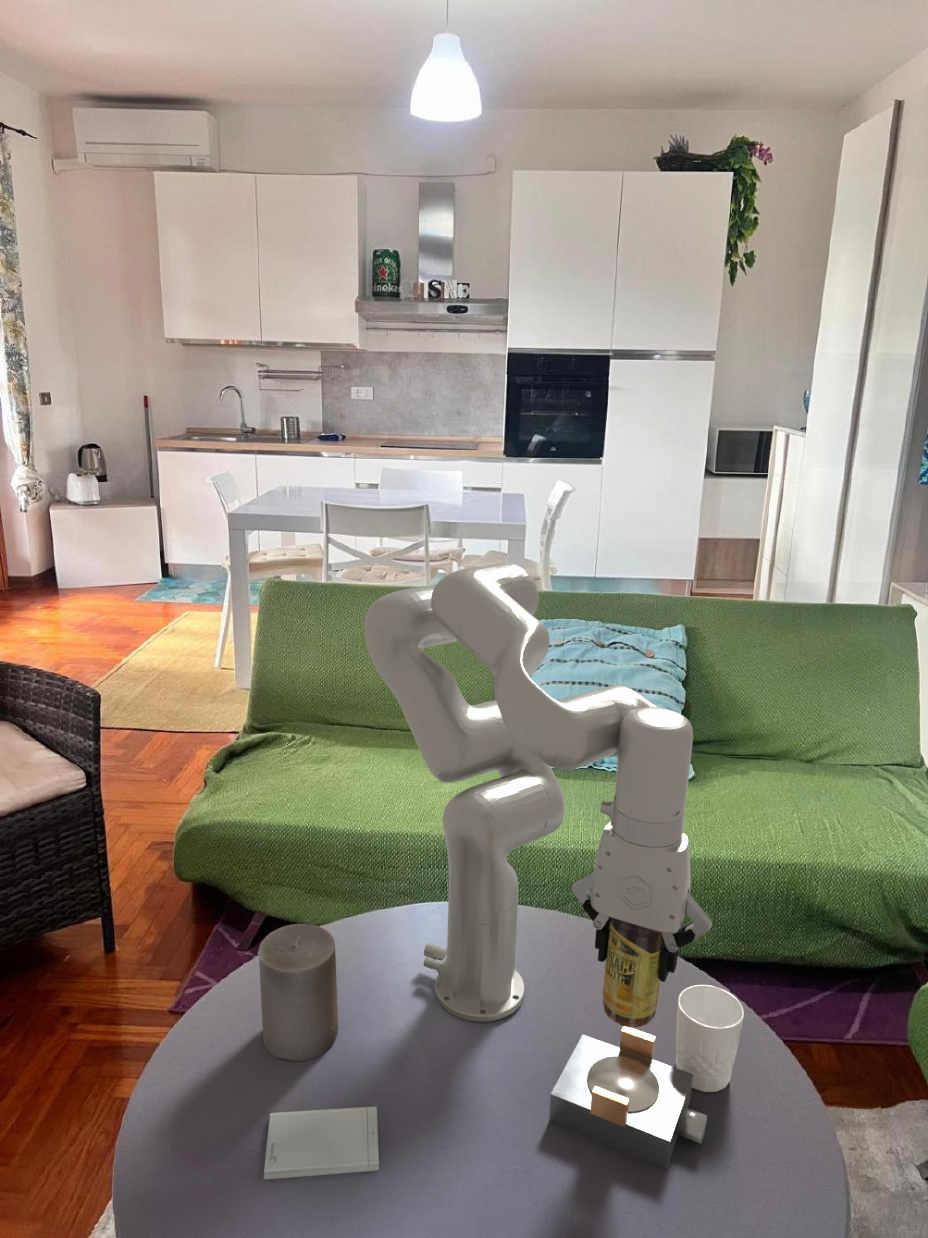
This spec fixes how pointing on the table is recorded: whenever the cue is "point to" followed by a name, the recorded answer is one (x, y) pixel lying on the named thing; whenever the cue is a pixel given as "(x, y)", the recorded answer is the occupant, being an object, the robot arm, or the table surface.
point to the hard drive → (322, 1142)
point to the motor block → (626, 1098)
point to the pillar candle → (298, 991)
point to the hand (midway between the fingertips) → (634, 963)
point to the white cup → (708, 1035)
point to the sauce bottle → (632, 973)
